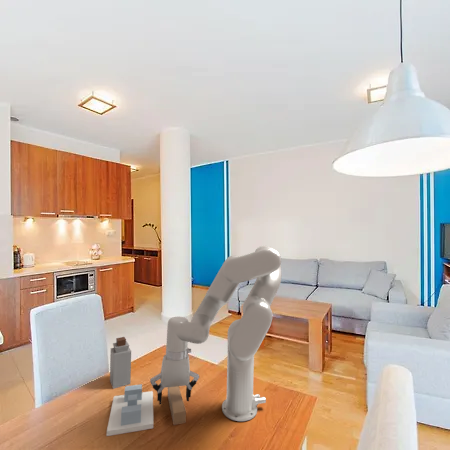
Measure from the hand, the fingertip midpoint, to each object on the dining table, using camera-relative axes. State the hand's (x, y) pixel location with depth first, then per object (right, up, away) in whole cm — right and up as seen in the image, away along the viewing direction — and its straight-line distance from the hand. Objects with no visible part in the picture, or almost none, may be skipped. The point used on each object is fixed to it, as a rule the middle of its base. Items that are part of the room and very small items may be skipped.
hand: (173, 400), depth 98 cm
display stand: (-14, -2, -3) cm, 14 cm away
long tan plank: (+1, -3, 0) cm, 3 cm away
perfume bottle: (-25, -3, +16) cm, 30 cm away
